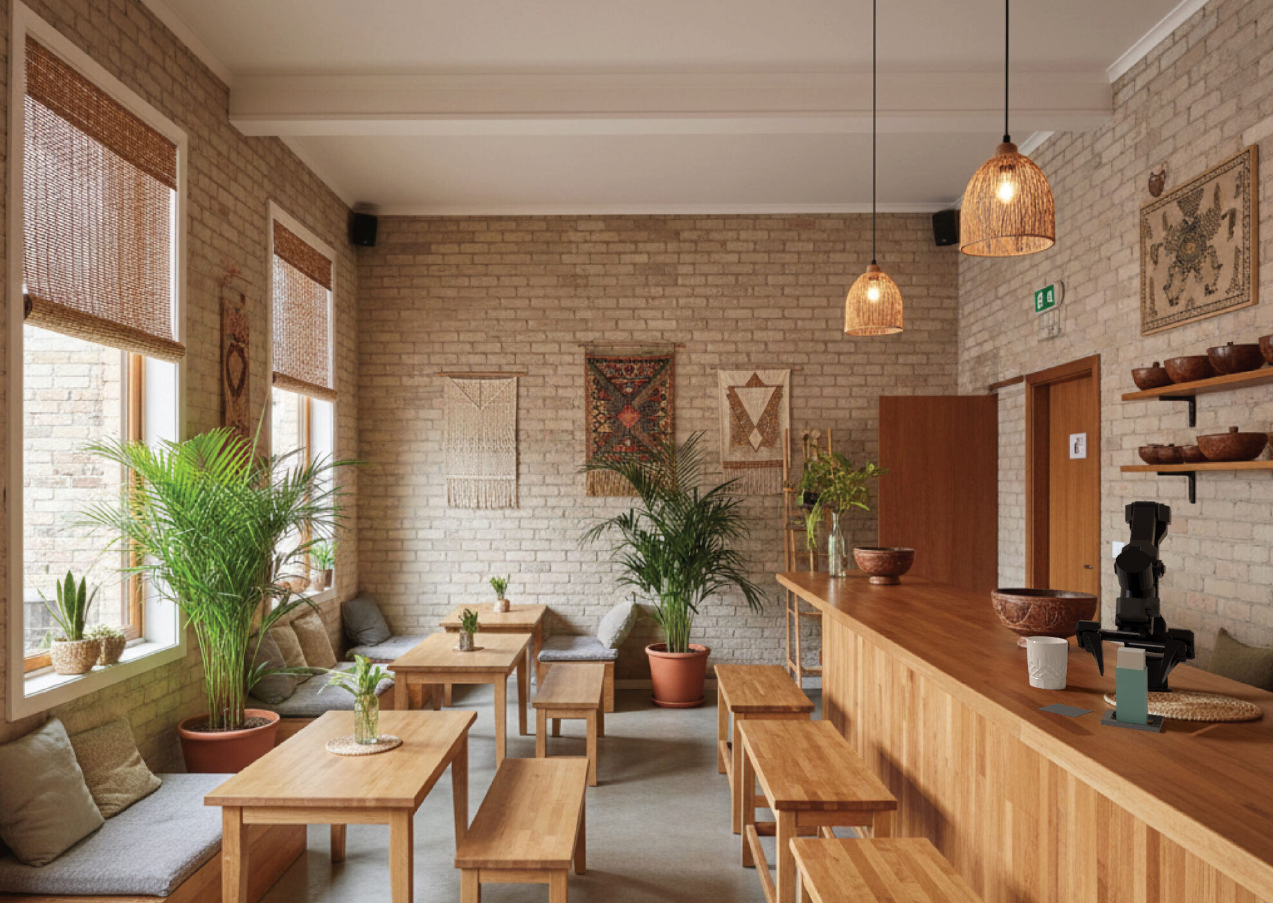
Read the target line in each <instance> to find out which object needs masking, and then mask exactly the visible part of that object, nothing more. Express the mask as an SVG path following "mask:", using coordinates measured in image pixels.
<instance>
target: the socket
mask: <svg viewBox="0 0 1273 903" xmlns="http://www.w3.org/2000/svg"><path fill="white" fill-rule="evenodd" d="M1114 717H1116V709H1114V708H1107V709H1106V710H1105V712H1104V714H1103V715H1102V717H1100V724H1101V725H1102V726H1110V727H1117V728H1123V729H1130V730H1138V731H1143V732H1151V733H1158V734H1160V732H1161V730H1162V726H1163V724H1164V721H1165V720H1164V717H1165V716H1164V715H1158V714H1151V713H1150V714H1149V713H1148V722H1149V721H1151V722H1152V724H1148V723H1147V724H1141V723H1134V722H1127V721H1120V720H1116V719H1113V718H1114Z"/></svg>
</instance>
